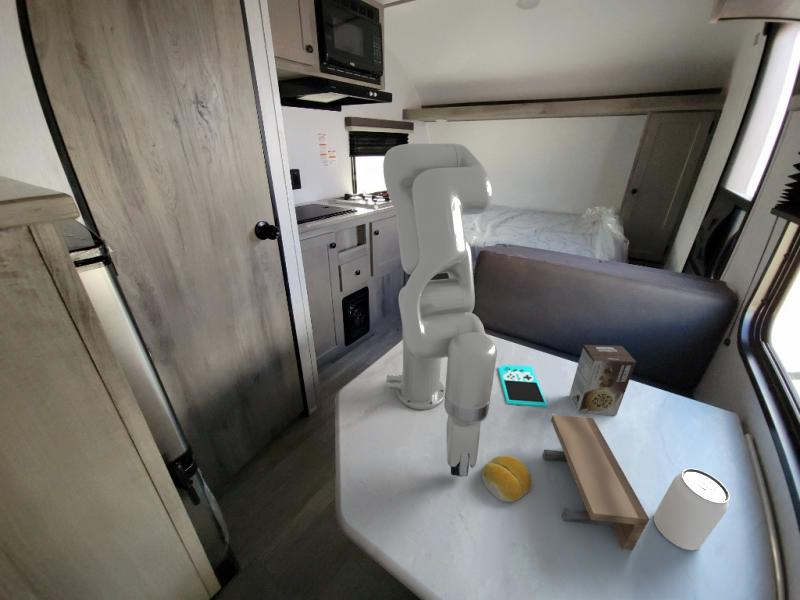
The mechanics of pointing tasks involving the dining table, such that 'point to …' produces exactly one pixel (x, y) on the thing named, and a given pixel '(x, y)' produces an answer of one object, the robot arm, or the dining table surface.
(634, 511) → the overhang shelf
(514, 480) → the bread roll
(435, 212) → the robot arm
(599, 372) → the coffee box
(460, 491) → the dining table surface
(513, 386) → the handheld game console
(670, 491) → the can
